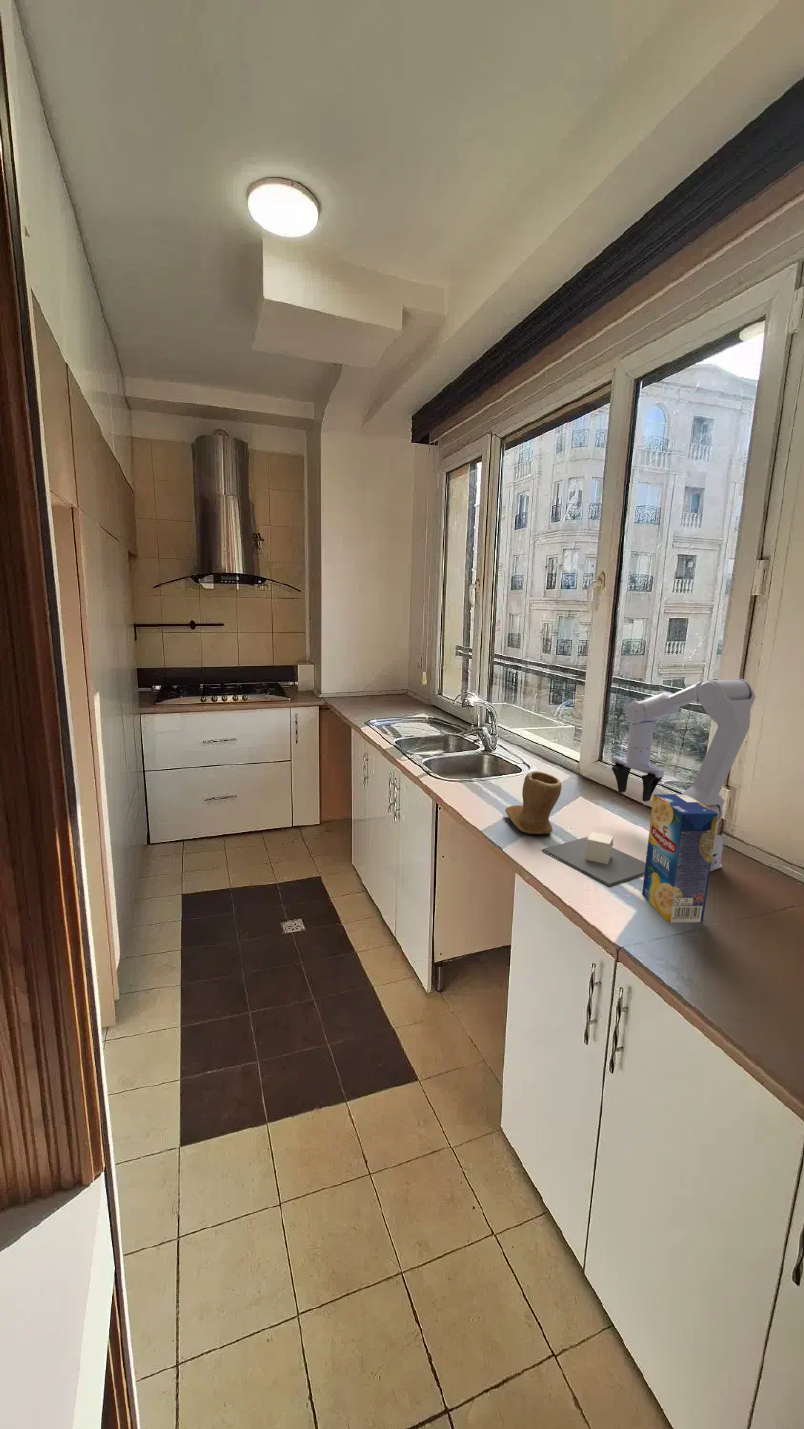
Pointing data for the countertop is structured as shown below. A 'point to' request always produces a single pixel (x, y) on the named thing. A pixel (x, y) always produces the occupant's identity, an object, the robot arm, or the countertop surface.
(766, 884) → the countertop surface
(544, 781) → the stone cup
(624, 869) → the charcoal mat
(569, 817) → the countertop surface
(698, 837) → the beverage box
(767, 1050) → the countertop surface
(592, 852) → the cream cube
